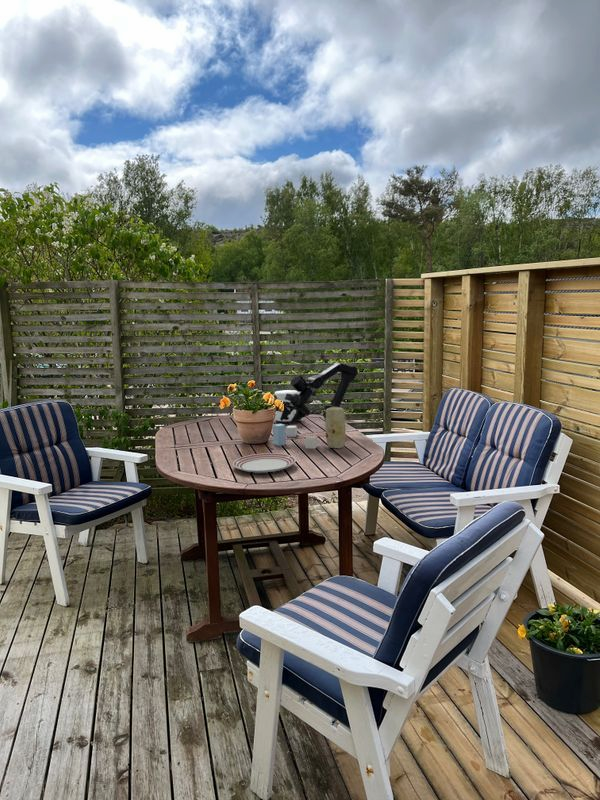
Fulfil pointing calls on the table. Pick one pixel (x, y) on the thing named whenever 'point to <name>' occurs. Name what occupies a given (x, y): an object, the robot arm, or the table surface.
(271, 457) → the dinner plate
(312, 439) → the cream cube
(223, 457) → the table surface
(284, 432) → the dusty blue block
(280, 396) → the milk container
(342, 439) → the food model
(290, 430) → the pale grey cube
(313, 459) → the table surface
